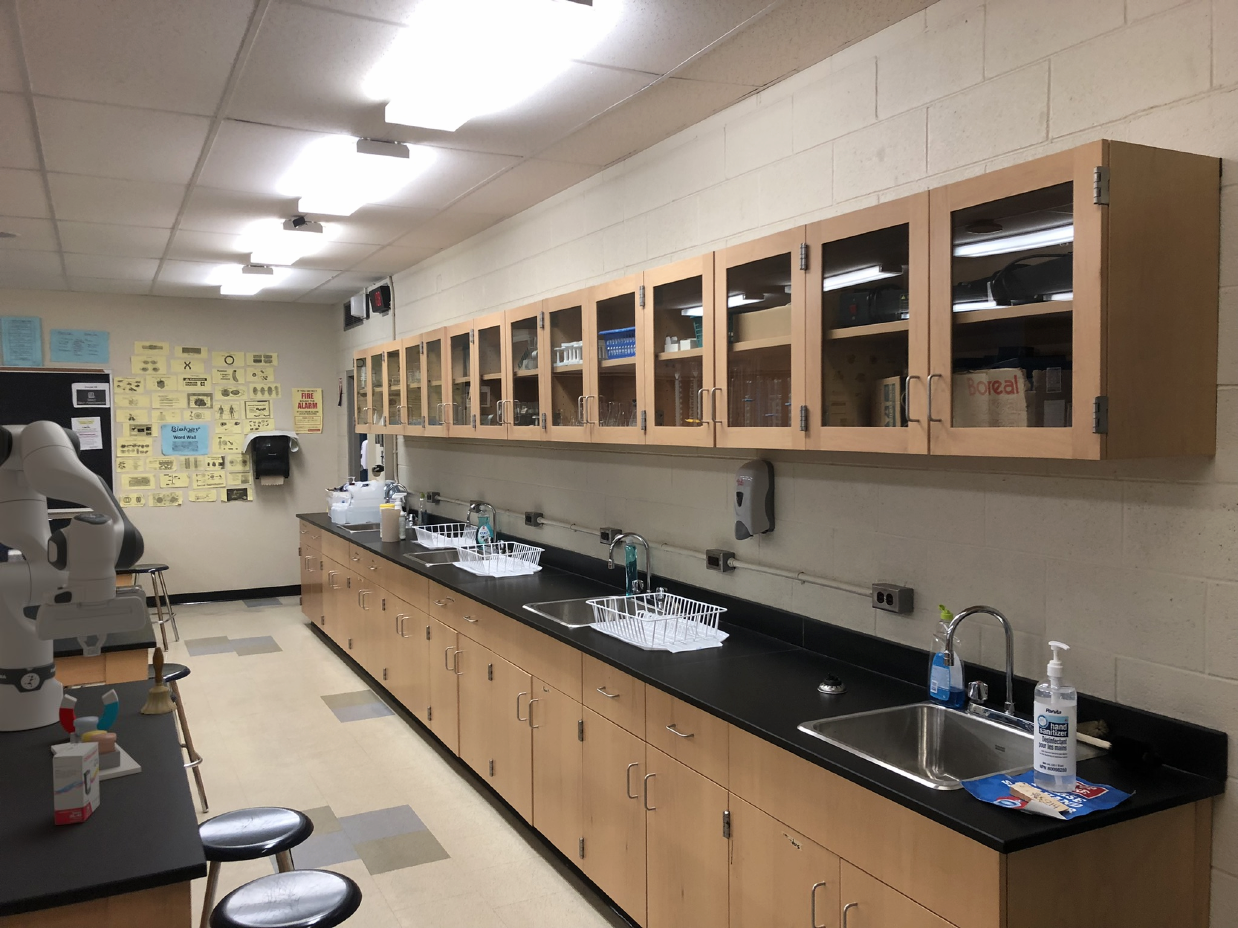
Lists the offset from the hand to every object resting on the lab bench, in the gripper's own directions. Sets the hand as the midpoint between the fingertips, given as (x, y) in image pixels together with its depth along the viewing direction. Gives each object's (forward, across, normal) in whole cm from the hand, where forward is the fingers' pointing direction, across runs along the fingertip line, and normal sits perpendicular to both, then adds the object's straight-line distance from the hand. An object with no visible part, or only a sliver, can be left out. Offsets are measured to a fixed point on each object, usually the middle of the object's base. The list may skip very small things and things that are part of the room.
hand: (91, 655), depth 191 cm
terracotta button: (+19, 0, +12) cm, 22 cm away
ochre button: (+20, 0, +4) cm, 21 cm away
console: (+21, 0, +4) cm, 22 cm away
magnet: (+22, -3, -16) cm, 28 cm away
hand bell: (+23, -21, -30) cm, 43 cm away
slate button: (+19, 0, -4) cm, 20 cm away
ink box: (+21, +9, +35) cm, 41 cm away
